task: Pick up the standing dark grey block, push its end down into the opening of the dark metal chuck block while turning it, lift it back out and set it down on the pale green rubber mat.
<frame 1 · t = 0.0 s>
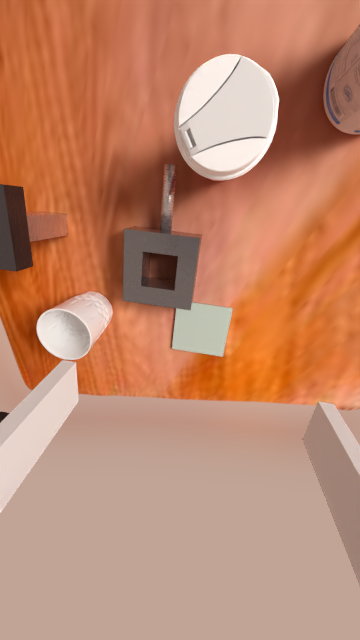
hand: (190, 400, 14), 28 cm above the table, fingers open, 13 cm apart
chuck block: (165, 264, 39), on the table
white cup: (94, 309, 44), on the table
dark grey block: (57, 223, 39), on the table
mat: (200, 328, 43), on the table
coffee cup: (220, 155, 33), on the table
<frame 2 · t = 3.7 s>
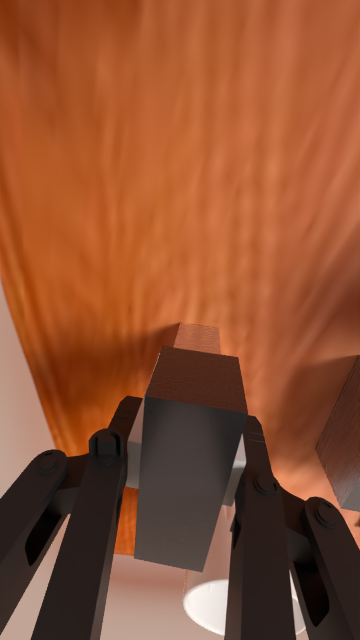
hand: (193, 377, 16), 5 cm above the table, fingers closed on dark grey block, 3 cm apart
white cup: (232, 465, 25), on the table
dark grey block: (197, 342, 20), on the table, touching gripper
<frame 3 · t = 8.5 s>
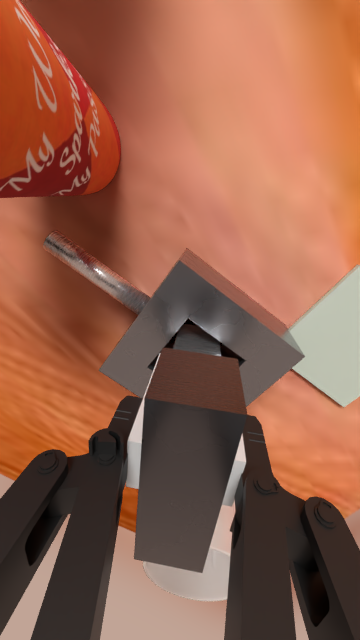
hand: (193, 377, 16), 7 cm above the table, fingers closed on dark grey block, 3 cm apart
chuck block: (198, 331, 22), on the table
white cup: (200, 453, 28), on the table
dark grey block: (196, 343, 20), point 2 cm above the table, touching gripper
mat: (348, 342, 21), on the table
coffee cup: (80, 145, 18), on the table
when the fingers open (6 cm above the table, at t = 13.6 s): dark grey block stays where it is, resting on mat.
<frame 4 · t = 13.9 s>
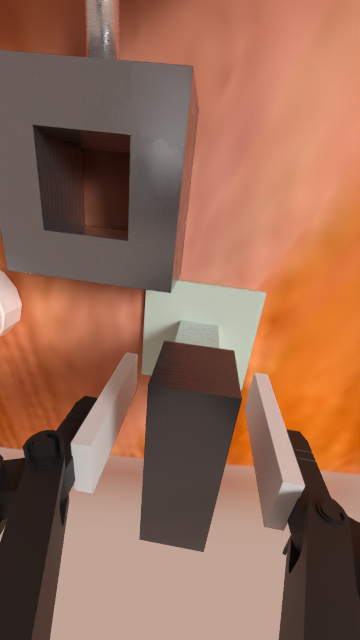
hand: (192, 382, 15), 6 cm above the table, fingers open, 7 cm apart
chuck block: (116, 192, 18), on the table
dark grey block: (197, 339, 21), resting on mat
mat: (197, 335, 21), on the table
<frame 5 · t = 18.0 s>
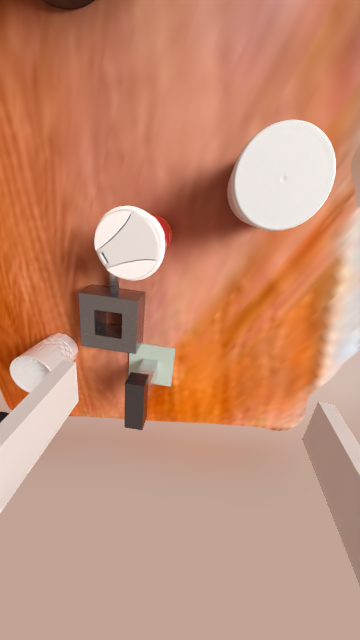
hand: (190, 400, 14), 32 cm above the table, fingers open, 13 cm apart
supplement tub: (258, 190, 37), on the table
chuck block: (118, 313, 48), on the table
white cup: (63, 346, 53), on the table
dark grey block: (150, 365, 51), resting on mat
mat: (151, 363, 51), on the table
coffee cup: (154, 234, 42), on the table
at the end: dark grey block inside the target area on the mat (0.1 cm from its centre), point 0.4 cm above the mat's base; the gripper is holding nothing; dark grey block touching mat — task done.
